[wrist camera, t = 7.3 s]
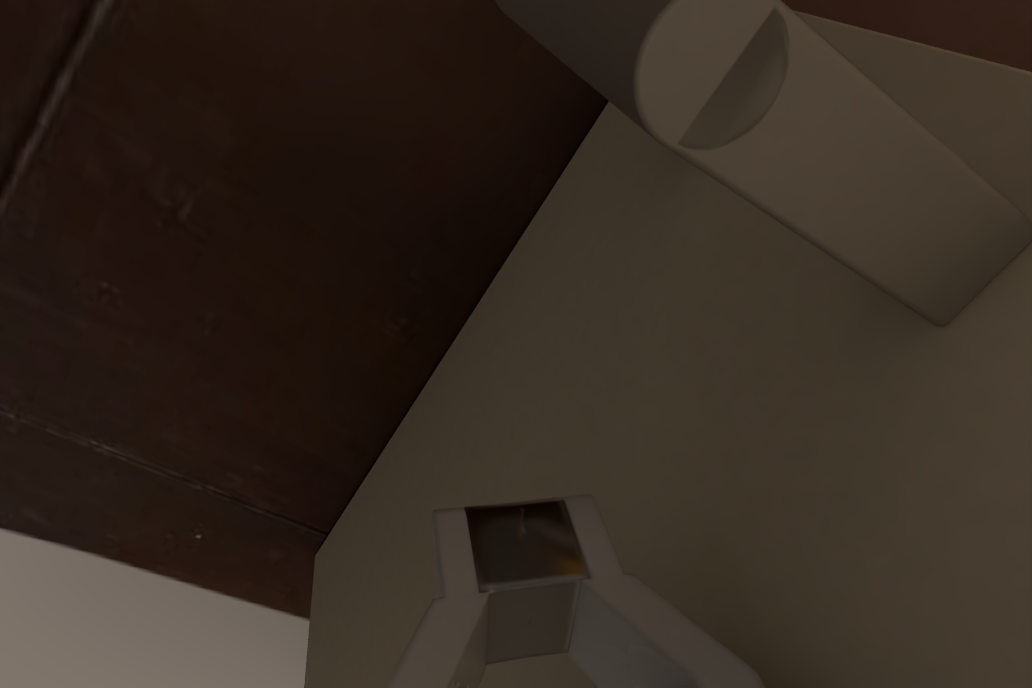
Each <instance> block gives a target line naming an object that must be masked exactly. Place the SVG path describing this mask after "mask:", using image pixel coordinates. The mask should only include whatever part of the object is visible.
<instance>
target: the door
mask: <svg viewBox="0 0 1032 688" xmlns="http://www.w3.org/2000/svg"><path fill="white" fill-rule="evenodd" d="M495 2H496V3H497V5H498V7H499V8H500V9H501V10H502V12H503V13H504V14H506V15H507V16H508V17H509V18H510V19H512V20H513V21H514V22H515V23H516V24H518V25H519V26H520V27H521V28H522V29H524V30H525V31H526V32H527V33H528V34H529V35H531V36H532V37H533V38H534V39H535V40H537V41H538V42H539V43H540V44H541V45H543V46H544V47H545V48H546V49H547V50H549V51H550V52H551V53H552V54H553V55H555V56H556V57H557V58H558V59H559V60H561V61H562V62H563V63H564V64H565V65H567V66H568V67H569V68H570V69H571V70H572V71H574V72H575V73H576V74H577V75H578V76H580V77H581V78H582V79H583V80H584V81H586V82H587V83H588V84H589V85H590V86H592V87H593V88H594V89H595V90H596V91H598V92H599V93H600V94H601V95H602V96H604V97H605V98H606V99H607V100H608V101H609V102H608V103H607V105H606V107H605V108H604V110H603V111H602V113H601V114H600V116H599V117H598V119H597V120H596V122H595V124H594V125H593V127H592V128H591V130H590V131H589V133H588V134H587V136H586V138H585V139H584V141H583V142H582V144H581V145H580V147H579V148H578V150H577V151H576V153H575V155H574V156H573V158H572V159H571V161H570V162H569V164H568V165H567V167H566V168H565V170H564V172H563V173H562V175H561V176H560V178H559V179H558V181H557V182H556V184H555V185H554V187H553V189H552V190H551V192H550V193H549V195H548V196H547V198H546V199H545V201H544V203H543V204H542V206H541V207H540V209H539V210H538V212H537V213H536V215H535V216H534V218H533V220H532V221H531V223H530V224H529V226H528V227H527V229H526V230H525V232H524V233H523V235H522V237H521V238H520V240H519V241H518V243H517V244H516V246H515V247H514V249H513V250H512V252H511V254H510V255H509V257H508V258H507V260H506V261H505V263H504V264H503V266H502V268H501V269H500V271H499V272H498V274H497V275H496V277H495V278H494V280H493V281H492V283H491V285H490V286H489V288H488V289H487V291H486V292H485V294H484V295H483V297H482V298H481V300H480V302H479V303H478V305H477V306H476V308H475V309H474V311H473V312H472V314H471V315H470V317H469V319H468V320H467V322H466V323H465V325H464V326H463V328H462V329H461V331H460V333H459V334H458V336H457V337H456V339H455V340H454V342H453V343H452V345H451V346H450V348H449V350H448V351H447V353H446V354H445V356H444V357H443V359H442V360H441V362H440V363H439V365H438V367H437V368H436V370H435V371H434V373H433V374H432V376H431V377H430V379H429V380H428V382H427V384H426V385H425V387H424V388H423V390H422V391H421V393H420V394H419V396H418V398H417V399H416V401H415V402H414V404H413V405H412V407H411V408H410V410H409V411H408V413H407V415H406V416H405V418H404V419H403V421H402V422H401V424H400V425H399V427H398V428H397V430H396V432H395V433H394V435H393V436H392V438H391V439H390V441H389V442H388V444H387V445H386V447H385V449H384V450H383V452H382V453H381V455H380V456H379V458H378V459H377V461H376V463H375V464H374V466H373V467H372V469H371V470H370V472H369V473H368V475H367V476H366V478H365V480H364V481H363V483H362V484H361V486H360V487H359V489H358V490H357V492H356V493H355V495H354V497H353V498H352V500H351V501H350V503H349V504H348V506H347V507H346V509H345V510H344V512H343V514H342V515H341V517H340V518H339V520H338V521H337V523H336V524H335V526H334V528H333V529H332V531H331V532H330V534H329V535H328V537H327V538H326V540H325V541H324V543H323V545H322V546H321V548H320V549H319V551H318V552H317V554H316V555H315V565H314V577H313V589H312V602H311V614H310V626H309V638H308V650H307V663H306V674H305V686H304V688H384V686H385V685H386V683H387V681H388V679H389V677H390V676H391V674H392V672H393V670H394V668H395V667H396V665H397V663H398V661H399V659H400V658H401V656H402V654H403V652H404V650H405V649H406V647H407V645H408V643H409V641H410V640H411V638H412V636H413V634H414V632H415V631H416V629H417V627H418V625H419V623H420V622H421V620H422V618H423V616H424V614H425V613H426V611H427V609H428V607H429V605H430V603H431V602H432V600H433V599H435V595H434V583H433V561H432V511H433V510H437V509H449V508H461V507H463V508H464V507H468V506H481V505H494V504H503V503H512V502H520V501H529V500H538V499H547V498H555V497H559V498H561V497H567V496H577V495H586V494H591V495H592V496H593V497H594V498H595V501H596V503H597V506H598V508H599V511H600V513H601V516H602V519H603V521H604V524H605V526H606V529H607V531H608V534H609V536H610V539H611V541H612V544H613V546H614V549H615V551H616V554H617V557H618V559H619V562H620V564H621V567H622V569H623V572H624V574H635V575H636V576H637V577H638V578H640V579H641V580H642V581H643V582H645V583H646V584H647V585H648V586H650V587H651V588H652V589H653V590H655V591H656V592H657V593H658V594H660V595H661V596H662V597H663V598H665V599H666V600H667V601H669V602H670V603H671V604H672V605H674V606H675V607H676V608H677V609H679V610H680V611H681V612H682V613H684V614H685V615H686V616H687V617H689V618H690V619H691V620H692V621H694V622H695V623H696V624H698V625H699V626H700V627H701V628H703V629H704V630H705V631H706V632H708V633H709V634H710V635H711V636H713V637H714V638H715V639H716V640H718V641H719V642H720V643H721V644H723V645H724V646H725V647H726V648H728V649H729V650H730V651H732V652H733V653H734V654H735V655H737V656H738V657H739V658H740V659H742V660H743V661H744V662H745V663H747V664H748V665H749V666H750V667H752V668H753V669H754V670H755V671H757V672H758V674H759V676H760V678H761V680H762V682H763V684H764V686H765V688H1032V72H1029V71H1025V70H1021V69H1017V68H1013V67H1010V66H1006V65H1002V64H998V63H994V62H990V61H986V60H983V59H979V58H975V57H971V56H967V55H963V54H959V53H955V52H952V51H948V50H944V49H940V48H936V47H932V46H928V45H925V44H921V43H917V42H913V41H909V40H905V39H901V38H898V37H894V36H890V35H886V34H882V33H878V32H874V31H871V30H867V29H863V28H859V27H855V26H851V25H847V24H844V23H840V22H836V21H832V20H828V19H824V18H820V17H817V16H813V15H809V14H805V13H801V12H797V11H793V10H791V9H790V8H789V7H788V6H787V5H786V4H785V3H784V2H782V1H781V0H495ZM478 688H596V686H595V685H594V684H593V683H592V682H591V681H590V680H589V679H588V677H587V676H586V675H585V674H584V673H583V672H582V671H581V670H580V668H579V667H578V666H577V665H576V664H575V663H574V662H573V661H572V659H571V658H570V657H569V656H568V653H561V654H553V655H545V656H536V657H528V658H522V659H516V660H511V661H505V662H499V663H494V664H488V665H486V669H485V672H484V674H483V677H482V679H481V682H480V685H479V687H478Z"/></svg>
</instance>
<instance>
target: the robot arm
mask: <svg viewBox="0 0 1032 688" xmlns="http://www.w3.org/2000/svg"><path fill="white" fill-rule="evenodd" d="M432 561H433V583H434V595H435V599H433V600H432V602H431V603H430V605H429V607H428V609H427V611H426V613H425V614H424V616H423V618H422V620H421V622H420V623H419V625H418V627H417V629H416V631H415V632H414V634H413V636H412V638H411V640H410V641H409V643H408V645H407V647H406V649H405V650H404V652H403V654H402V656H401V658H400V659H399V661H398V663H397V665H396V667H395V668H394V670H393V672H392V674H391V676H390V677H389V679H388V681H387V683H386V685H385V686H384V688H478V687H479V685H480V682H481V679H482V677H483V674H484V672H485V669H486V665H488V664H494V663H499V662H505V661H511V660H516V659H522V658H528V657H536V656H545V655H553V654H561V653H568V656H569V657H570V658H571V659H572V661H573V662H574V663H575V664H576V665H577V666H578V667H579V668H580V670H581V671H582V672H583V673H584V674H585V675H586V676H587V677H588V679H589V680H590V681H591V682H592V683H593V684H594V685H595V686H596V688H765V686H764V684H763V682H762V680H761V678H760V676H759V674H758V672H757V671H755V670H754V669H753V668H752V667H750V666H749V665H748V664H747V663H745V662H744V661H743V660H742V659H740V658H739V657H738V656H737V655H735V654H734V653H733V652H732V651H730V650H729V649H728V648H726V647H725V646H724V645H723V644H721V643H720V642H719V641H718V640H716V639H715V638H714V637H713V636H711V635H710V634H709V633H708V632H706V631H705V630H704V629H703V628H701V627H700V626H699V625H698V624H696V623H695V622H694V621H692V620H691V619H690V618H689V617H687V616H686V615H685V614H684V613H682V612H681V611H680V610H679V609H677V608H676V607H675V606H674V605H672V604H671V603H670V602H669V601H667V600H666V599H665V598H663V597H662V596H661V595H660V594H658V593H657V592H656V591H655V590H653V589H652V588H651V587H650V586H648V585H647V584H646V583H645V582H643V581H642V580H641V579H640V578H638V577H637V576H636V575H635V574H624V572H623V569H622V567H621V564H620V562H619V559H618V557H617V554H616V551H615V549H614V546H613V544H612V541H611V539H610V536H609V534H608V531H607V529H606V526H605V524H604V521H603V519H602V516H601V513H600V511H599V508H598V506H597V503H596V501H595V498H594V497H593V496H592V495H591V494H586V495H577V496H567V497H561V498H559V497H555V498H547V499H538V500H529V501H520V502H512V503H503V504H494V505H481V506H468V507H464V508H463V507H461V508H449V509H437V510H433V511H432Z"/></svg>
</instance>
